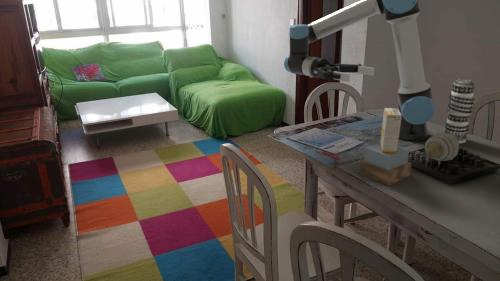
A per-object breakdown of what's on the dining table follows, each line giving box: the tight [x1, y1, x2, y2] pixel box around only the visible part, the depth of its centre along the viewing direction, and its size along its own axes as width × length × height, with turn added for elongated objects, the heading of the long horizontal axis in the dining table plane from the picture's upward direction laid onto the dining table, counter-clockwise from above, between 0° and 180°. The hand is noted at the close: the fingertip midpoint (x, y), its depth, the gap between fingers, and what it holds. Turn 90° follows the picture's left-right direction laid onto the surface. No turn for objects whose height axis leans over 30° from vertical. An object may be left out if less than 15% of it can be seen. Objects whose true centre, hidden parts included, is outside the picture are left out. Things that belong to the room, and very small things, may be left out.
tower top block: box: [363, 142, 410, 171], centre depth 129 cm, size 10×10×5 cm
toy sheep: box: [424, 132, 460, 161], centre depth 137 cm, size 11×17×11 cm, turn 130°
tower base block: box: [359, 159, 413, 187], centre depth 131 cm, size 12×12×5 cm
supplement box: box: [379, 107, 402, 153], centre depth 126 cm, size 8×5×13 cm, turn 168°
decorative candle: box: [443, 78, 477, 144], centre depth 154 cm, size 9×9×25 cm
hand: (361, 74), depth 132 cm, fingers open, 13 cm apart
